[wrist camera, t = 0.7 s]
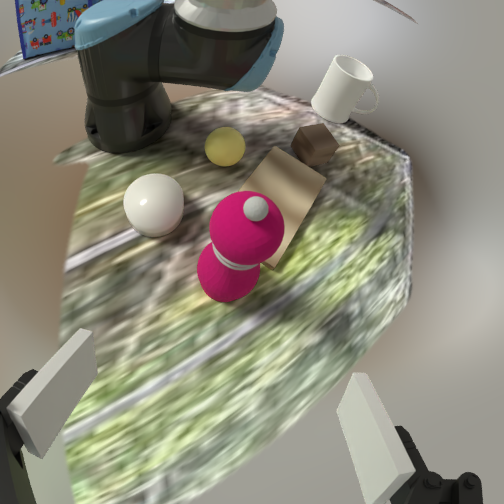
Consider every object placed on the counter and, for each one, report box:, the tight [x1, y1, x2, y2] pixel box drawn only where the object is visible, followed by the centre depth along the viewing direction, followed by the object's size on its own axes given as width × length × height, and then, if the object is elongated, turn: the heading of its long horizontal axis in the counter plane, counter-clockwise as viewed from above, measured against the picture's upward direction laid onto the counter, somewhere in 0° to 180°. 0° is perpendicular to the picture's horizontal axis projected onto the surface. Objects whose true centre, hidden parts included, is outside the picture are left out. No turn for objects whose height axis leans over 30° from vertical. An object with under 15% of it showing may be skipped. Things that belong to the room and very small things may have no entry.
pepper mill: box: [197, 191, 285, 302], centre depth 29 cm, size 7×7×20 cm
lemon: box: [205, 127, 245, 166], centre depth 42 cm, size 6×6×6 cm
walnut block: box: [291, 123, 339, 167], centre depth 47 cm, size 5×5×5 cm
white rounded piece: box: [124, 174, 184, 237], centre depth 38 cm, size 8×8×4 cm
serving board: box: [238, 146, 327, 270], centre depth 43 cm, size 18×10×1 cm, turn 149°
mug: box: [311, 55, 379, 123], centre depth 49 cm, size 12×8×12 cm
